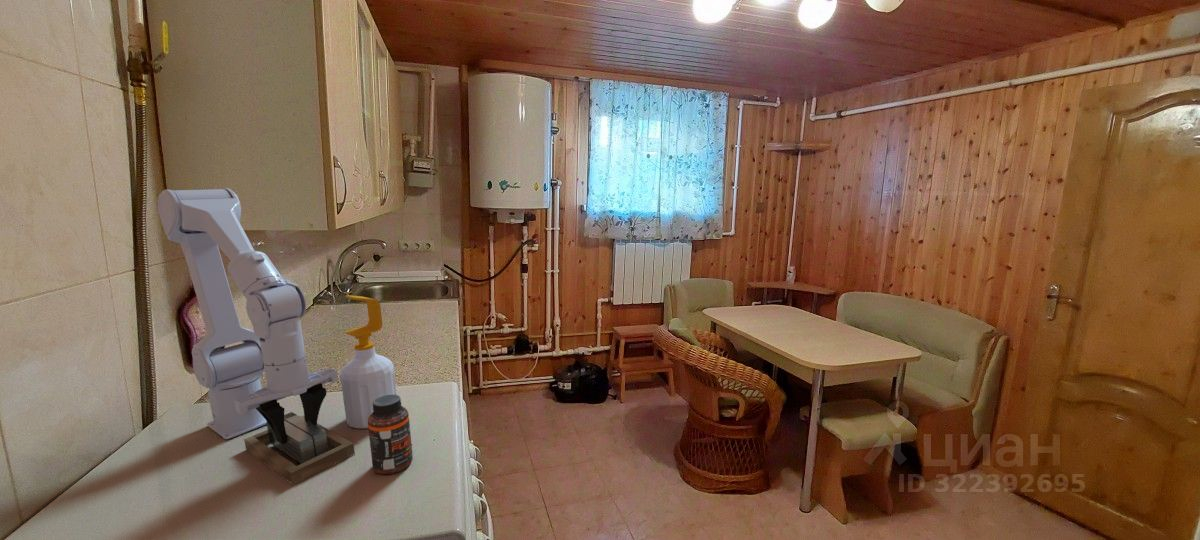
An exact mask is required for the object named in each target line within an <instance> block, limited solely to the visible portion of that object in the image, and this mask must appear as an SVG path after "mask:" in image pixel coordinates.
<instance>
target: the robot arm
mask: <svg viewBox="0 0 1200 540" xmlns="http://www.w3.org/2000/svg"><path fill="white" fill-rule="evenodd" d="M157 211H158V215H159V218H160V222H161V225H162V228H163V231H164V232H163V233H164V234H165V235H166V237H167V240H168V241H171V242H174V243H177V244H179V245H180V247H181V250H182V253H183V255H184V258H185V261H186V264H187V267H188V273H189V275H190V278H191V282H192V285H193V290H194V292H195V295H196V299H197V302H198V305H199V309H200V312H201V316H202V320H203V323H204V326H205V330H206V333H205V334H204V336H203V337H201V339H199V341H198V342H197V343H195V344H194V346H193V347H192V349H191V355H192V361H193V363H192V368H193V372H194V376H195V378H196V380H197V382H198V384H199V385H201V386H202V387H204V388H207V389H208V391H207V392H208V393H207V395H208V400H209V401H208V402H209V405H210V410H211V415H212V421H209V422H207V423H206V425H207V427H209V428H210V429H211V430H213V431H214V432H215V433H217V434H218V435H219V436H220V437H222V438H223V439H224V440H229V439H232V438H235V437H237V436H240V435H242V434H245V433H247V432H249V431H252V430H256V429H258V428H261V427H263V426H267V423H266V422H268V424H269V425H270V427H271V428H272V430H273V432H274V434H275V436H276V439H277V441H278V442H280V443H281V444H284V443H287V436H286V430H285V425H284V415H285V409H286V408H285V407H283V406H281V405H280V402H278V401H280V400H283V399H285V398H288V397H291V396H299V399H300V401H301V405H302V409H303V416H304V418H305V420H307V421H309V422H311V423H313V424H315V425H317V423H318V420H319V413H320V412H321V411H320V409H321V408H322V407H321V406H322V404H323V402H324V400H325V398H326V396H327V388H325V387H324V386H323V385H325V384H328V383H335V382H337V381H339V378H338V371H337V370H336V369H334V368H332V367H330V368H328V369H327V368H326V369H324V370H320V371H315V372H311V373H309V370H308V364H307V362H308V361H307V356H306V350H305V349H306V348H305V343H304V335H303V330H302V329H303V328H302V323H301V321H302V320H301V318H302V317H303V316H304V315H305V314H306V311H307V303H306V302H307V301H306V297H305V295H304V292H303V290H302V289H301V288H300V286H299V285H298V284H297V283H295V282H291V281H290V279H288V278H287V279H286V278H283V276H282V275H281V274H280V272H279V271H278V270H277V268H276V266H275V265H274V264H273V262H272V261H271V259H270V257H269V256H268V255H267V254H266V253H264V252H262V251H259V250H255V249H254V247H253V245H252V243H251V241H250V240H249V237H248V236H247V233H246V232H245V230H244V228H243V226H242V224H241V217H242V206H241V201H240V199H239V197H238V195H237V193H236V192H234V191H233V190H232V189H231V188H229V187H227V188H226V187H225V188H221V189H220V188H218V189H217V188H215V189H212V188H211V189H181V190H180V189H179V190H177V189H175V190H173V189H172V190H171V189H163V190H162V191H161V193H159V195H158V200H157ZM220 250H221V251H222V252H223V254H224V255H225V256H226V257H227V258H228V259H229V263H228V265H227V271H228V274H229V275H230V277H231V278H232V279H233V282H234V283H235V284H236V286H237V287H238V288H239V290H240V291H241V293H242V294H243V296H244V297H245V299H246V302H245V303H246V304H245V305H246V306H245V310H246V313H247V317H248V318H249V320H250V323H251V324H252V325H251V326H252V328H253V330H251V329H249V328H245V327H243V326H241V322H240V319H239V316H238V315H239V314H238V312H237V309H236V305H235V301H234V298H233V294H232V291H231V290H232V289H231V287H230V285H229V280H228V277H227V274H226V270H225V266H224V263H223V259H222V255H221V252H220ZM240 342H241V343H240ZM236 343H239V344H236ZM232 344H235V345H232ZM228 345H231V346H228ZM225 346H228V347H225ZM221 347H223V348H221ZM217 348H220V349H217ZM215 349H217V350H215ZM264 375H265V379H266V386H264V387H262V384H261V377H263V376H264Z"/></svg>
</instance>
